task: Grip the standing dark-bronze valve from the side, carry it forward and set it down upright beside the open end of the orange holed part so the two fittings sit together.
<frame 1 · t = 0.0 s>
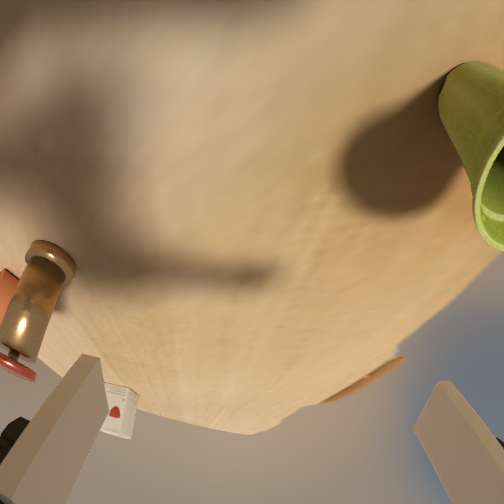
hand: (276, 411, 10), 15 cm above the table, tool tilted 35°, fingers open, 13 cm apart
valve: (52, 258, 31), on the table
orange holed part: (11, 289, 40), on the table
supplement box: (121, 388, 81), on the table
plant pot: (472, 101, 14), on the table
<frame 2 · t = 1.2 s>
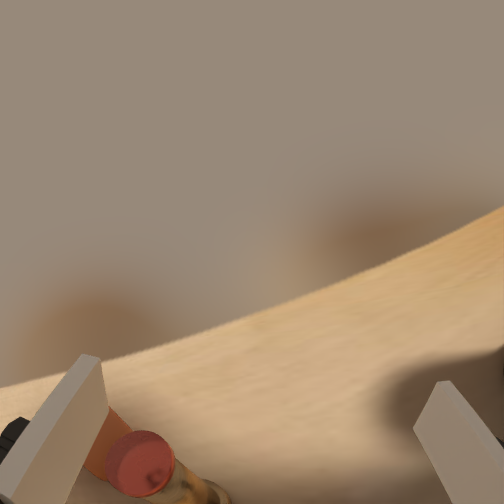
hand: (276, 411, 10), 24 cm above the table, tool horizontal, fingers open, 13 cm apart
orange holed part: (102, 432, 36), on the table
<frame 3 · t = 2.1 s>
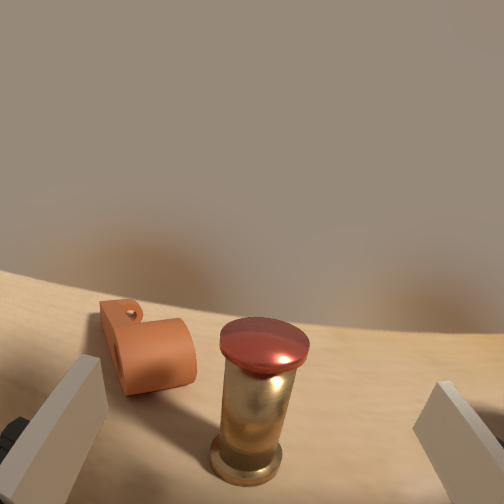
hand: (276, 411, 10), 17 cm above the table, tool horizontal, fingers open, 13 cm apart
valve: (244, 460, 24), on the table
orange holed part: (140, 356, 39), on the table
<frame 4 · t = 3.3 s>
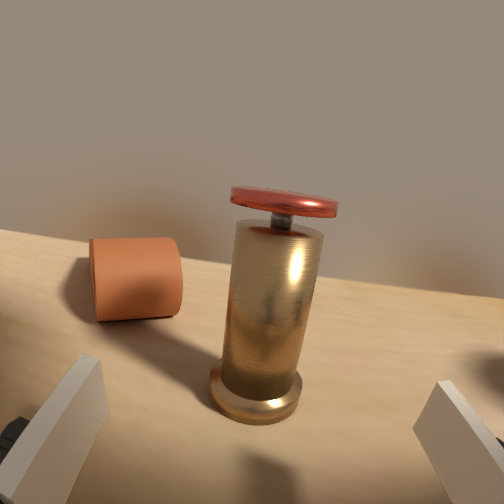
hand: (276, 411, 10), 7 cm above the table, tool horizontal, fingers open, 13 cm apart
valve: (253, 394, 21), on the table
orange holed part: (124, 293, 35), on the table
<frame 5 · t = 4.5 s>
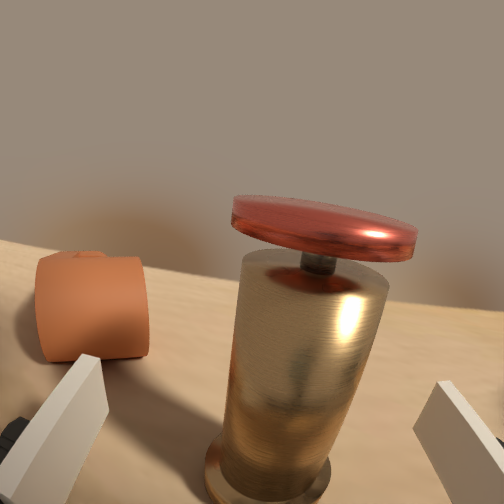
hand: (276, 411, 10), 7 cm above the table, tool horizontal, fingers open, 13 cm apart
valve: (264, 479, 13), on the table
orange holed part: (93, 319, 28), on the table
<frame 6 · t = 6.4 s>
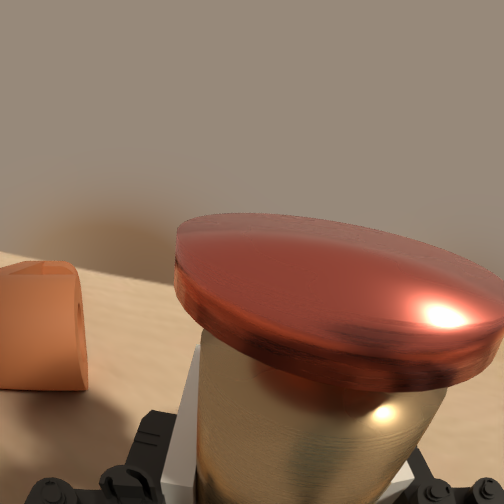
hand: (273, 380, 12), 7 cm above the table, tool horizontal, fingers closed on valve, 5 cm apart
orange holed part: (48, 338, 23), on the table
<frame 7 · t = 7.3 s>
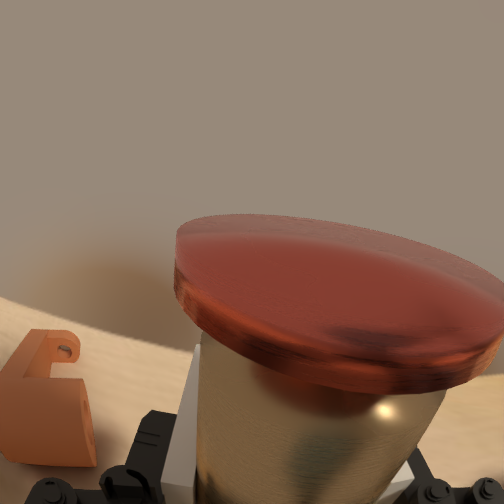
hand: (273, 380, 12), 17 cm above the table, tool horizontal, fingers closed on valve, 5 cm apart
orange holed part: (58, 408, 25), on the table
when the fingers open (8 cm above the table, at t = 10.6 s): valve drops 1 cm, on the table.
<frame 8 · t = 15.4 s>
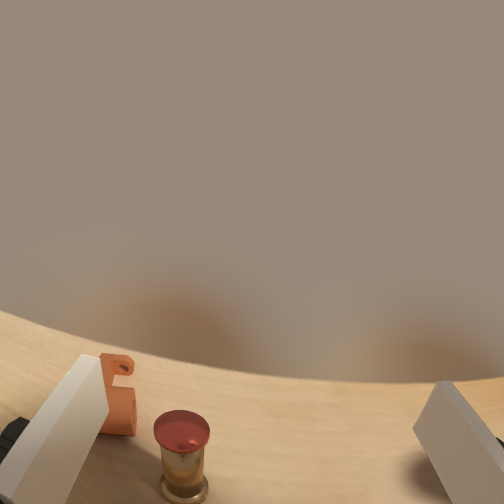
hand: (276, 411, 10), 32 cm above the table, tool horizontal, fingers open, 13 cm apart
valve: (184, 489, 32), on the table
orange holed part: (116, 403, 47), on the table
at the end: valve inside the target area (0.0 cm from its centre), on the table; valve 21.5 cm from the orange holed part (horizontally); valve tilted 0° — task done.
